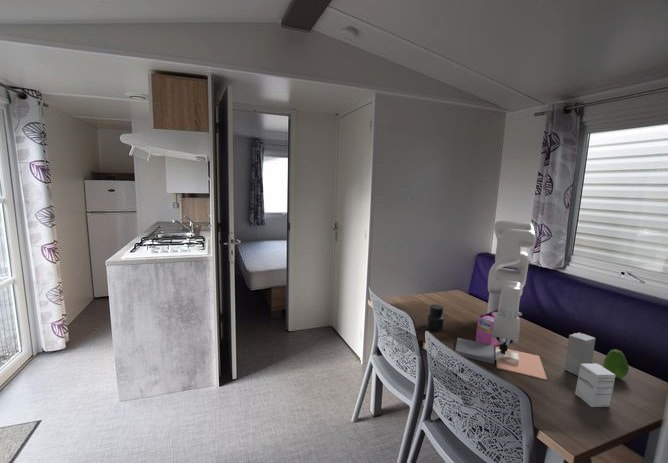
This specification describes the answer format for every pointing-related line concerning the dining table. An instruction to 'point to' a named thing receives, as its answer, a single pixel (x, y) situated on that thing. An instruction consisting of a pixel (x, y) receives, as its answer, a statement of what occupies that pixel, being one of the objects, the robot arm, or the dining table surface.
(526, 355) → the mat
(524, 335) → the dining table surface
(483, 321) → the gum box
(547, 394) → the dining table surface
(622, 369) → the avocado
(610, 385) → the supplement box
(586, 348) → the skincare box
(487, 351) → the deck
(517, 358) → the tile
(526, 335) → the dining table surface
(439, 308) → the ink bottle
